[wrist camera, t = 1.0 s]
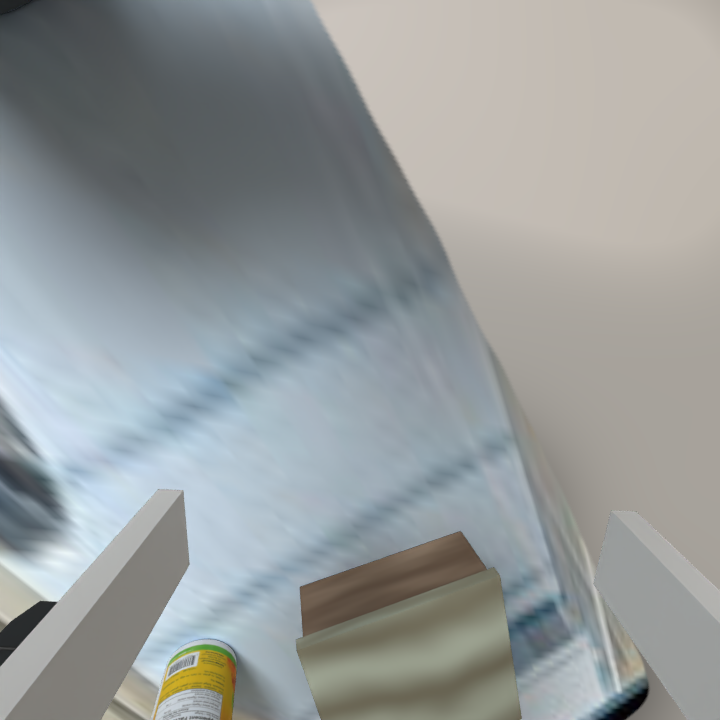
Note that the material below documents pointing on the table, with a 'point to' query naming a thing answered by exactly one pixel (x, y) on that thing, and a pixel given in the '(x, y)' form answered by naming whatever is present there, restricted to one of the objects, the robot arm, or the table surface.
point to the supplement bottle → (198, 683)
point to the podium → (410, 638)
